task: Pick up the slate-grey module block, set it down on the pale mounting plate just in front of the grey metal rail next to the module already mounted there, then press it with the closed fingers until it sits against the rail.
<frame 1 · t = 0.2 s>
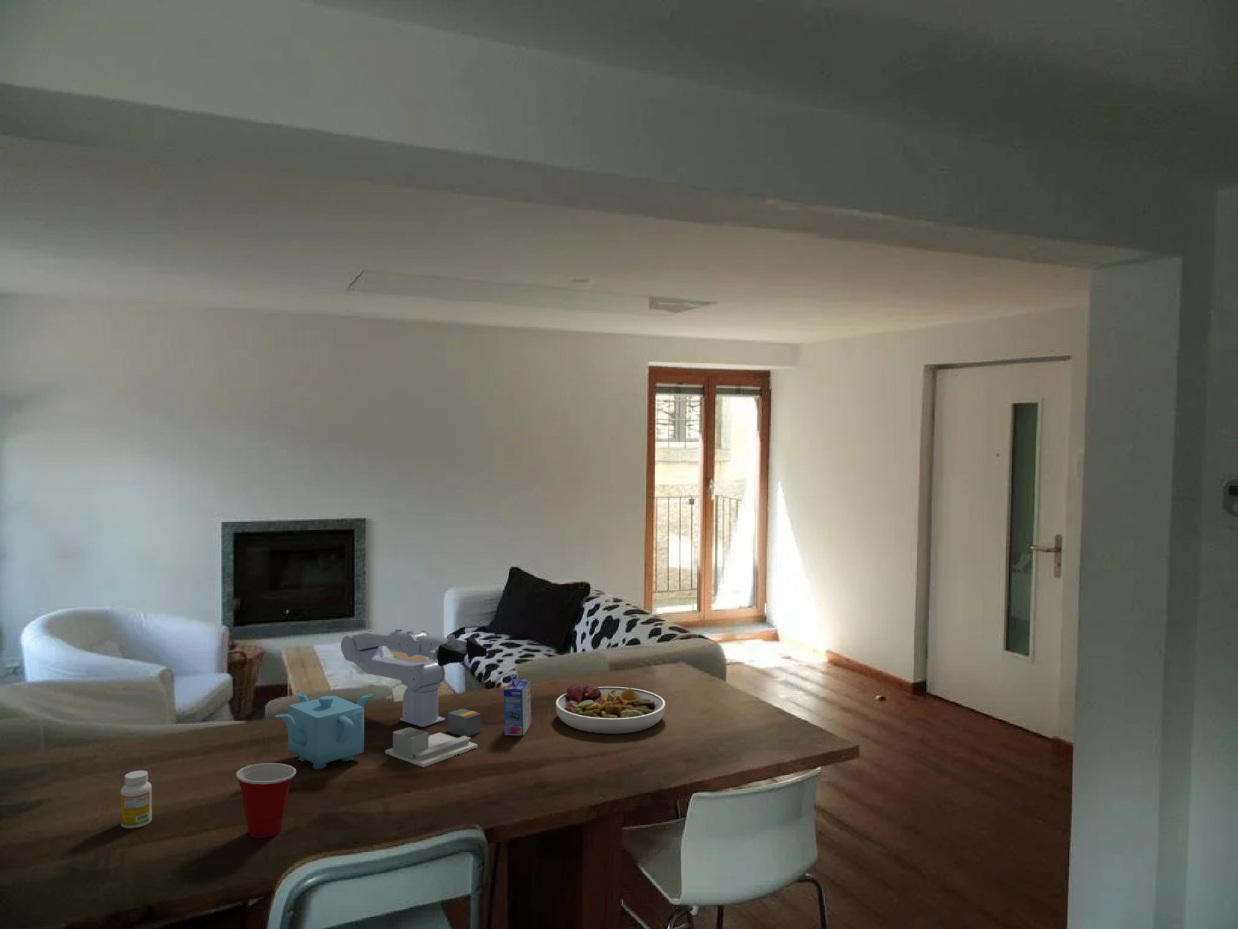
hand: (474, 655, 226), 21 cm above the table, tool horizontal, fingers open, 7 cm apart
teakettle: (323, 758, 210), on the table
module: (463, 732, 230), on the table
supplement bottle: (136, 824, 174), on the table
plastic cup: (266, 832, 171), on the table
bowl: (610, 720, 242), on the table
rail plate: (432, 750, 216), on the table
ink cartridge box: (517, 730, 232), on the table
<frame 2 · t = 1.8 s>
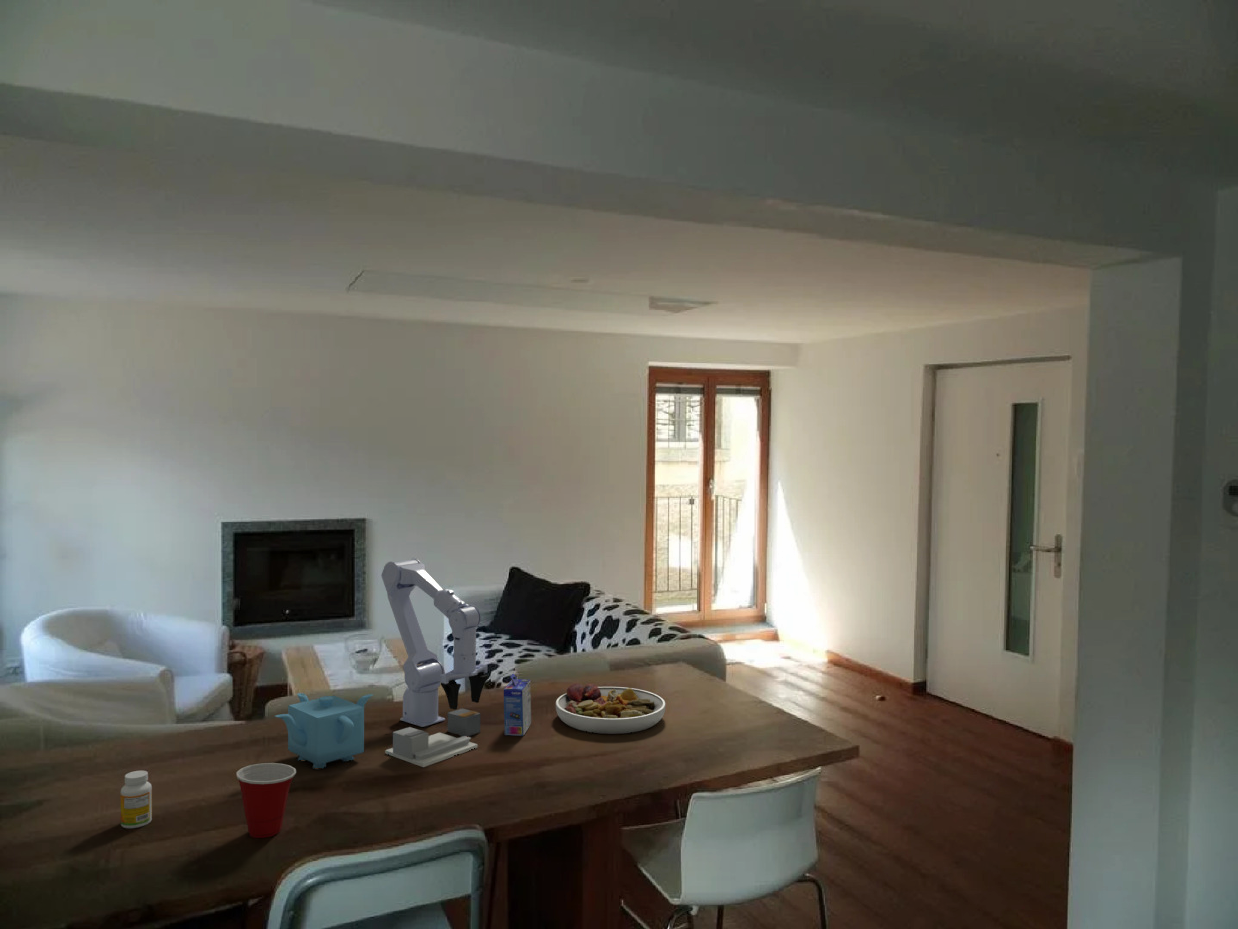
hand: (464, 705, 230), 7 cm above the table, tool pointing down, fingers open, 7 cm apart
nothing on the table moved.
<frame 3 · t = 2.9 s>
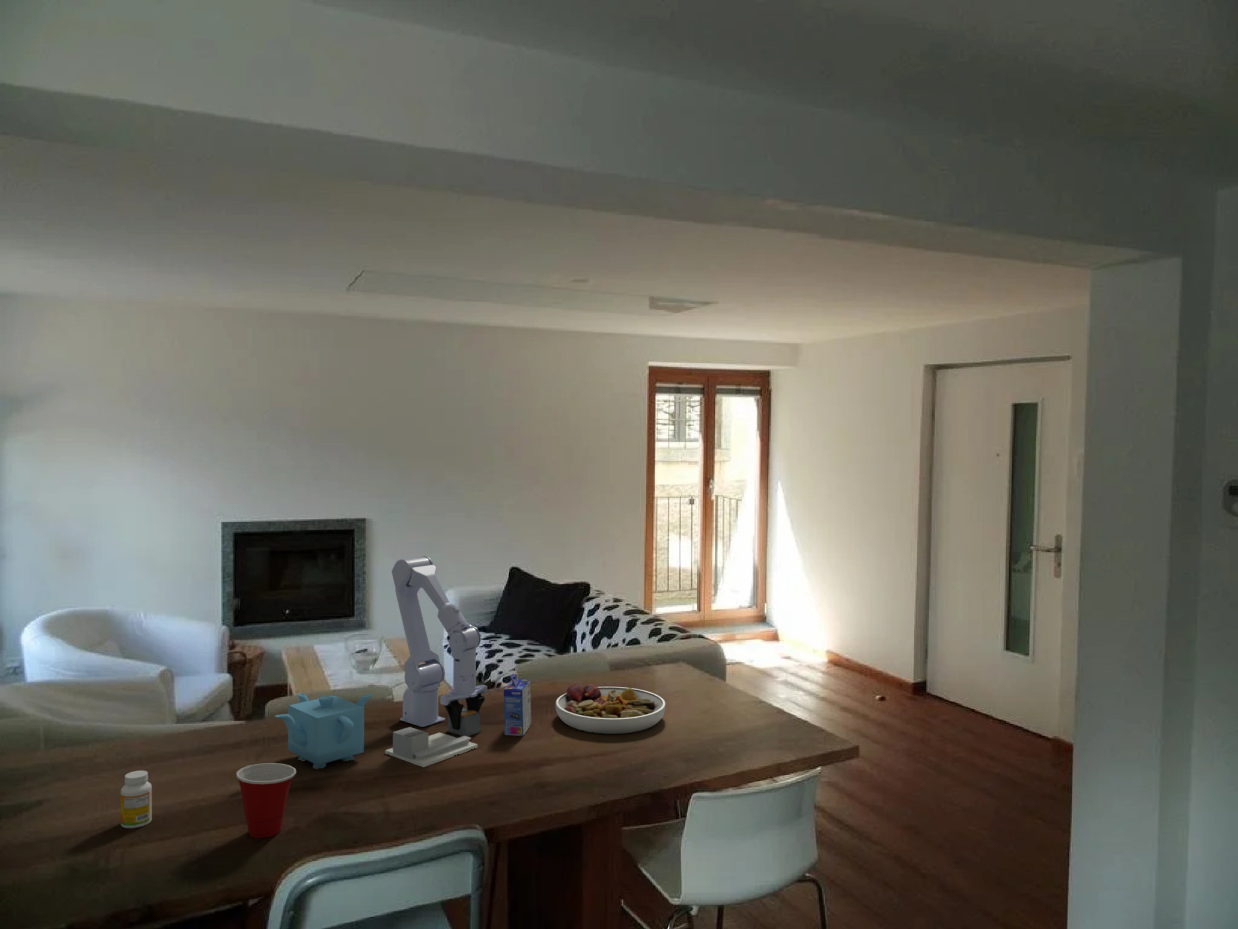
hand: (464, 726, 230), 1 cm above the table, tool pointing down, fingers closed on module, 5 cm apart
module: (463, 731, 230), on the table, touching gripper
everything else where it was.
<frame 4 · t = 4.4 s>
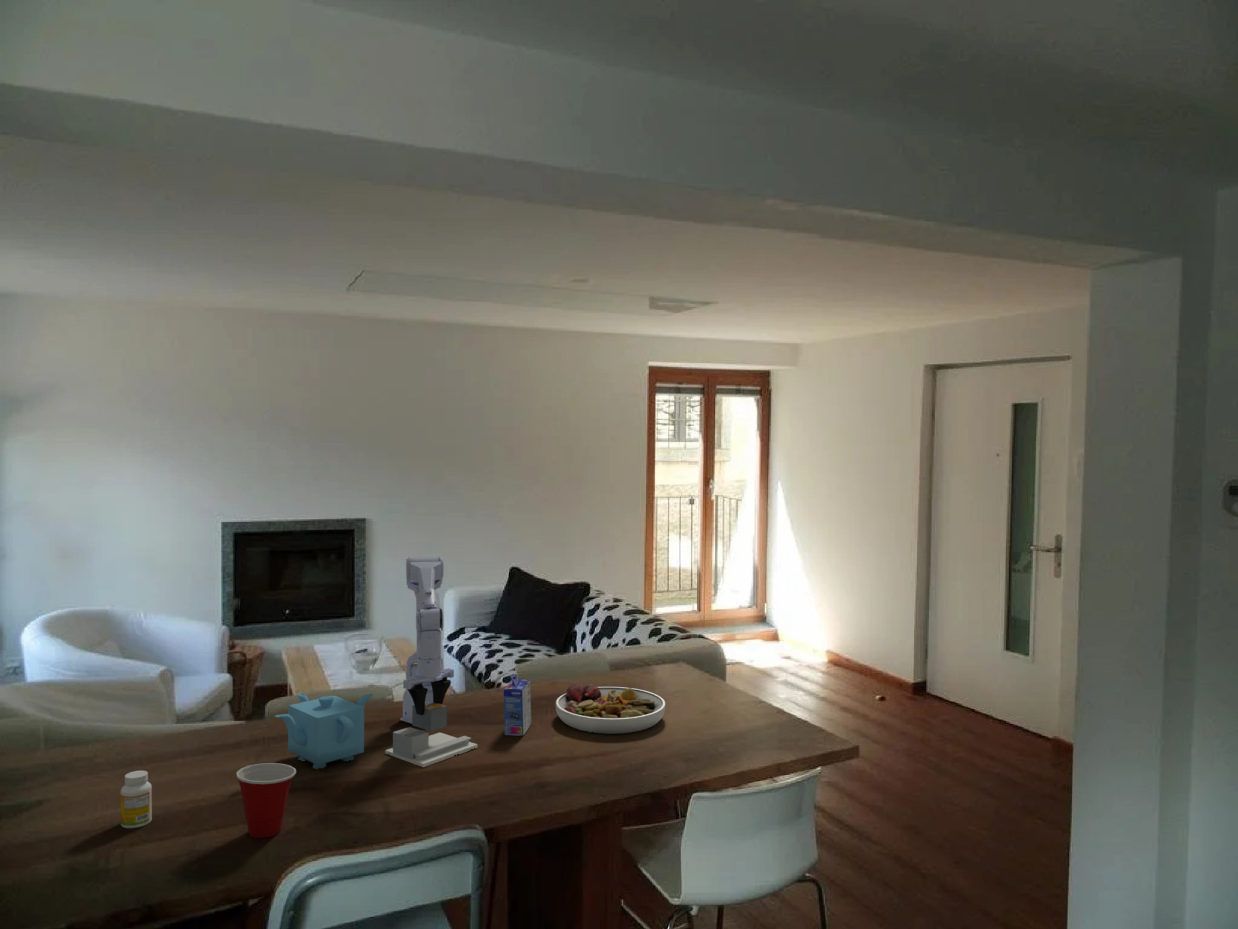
hand: (428, 711, 219), 8 cm above the table, tool pointing down, fingers closed on module, 5 cm apart
module: (429, 725, 219), point 5 cm above the table, touching gripper
everything else where it was.
when the fingers open (3 cm above the table, at t = 6.0 s): module stays where it is, resting on rail plate.
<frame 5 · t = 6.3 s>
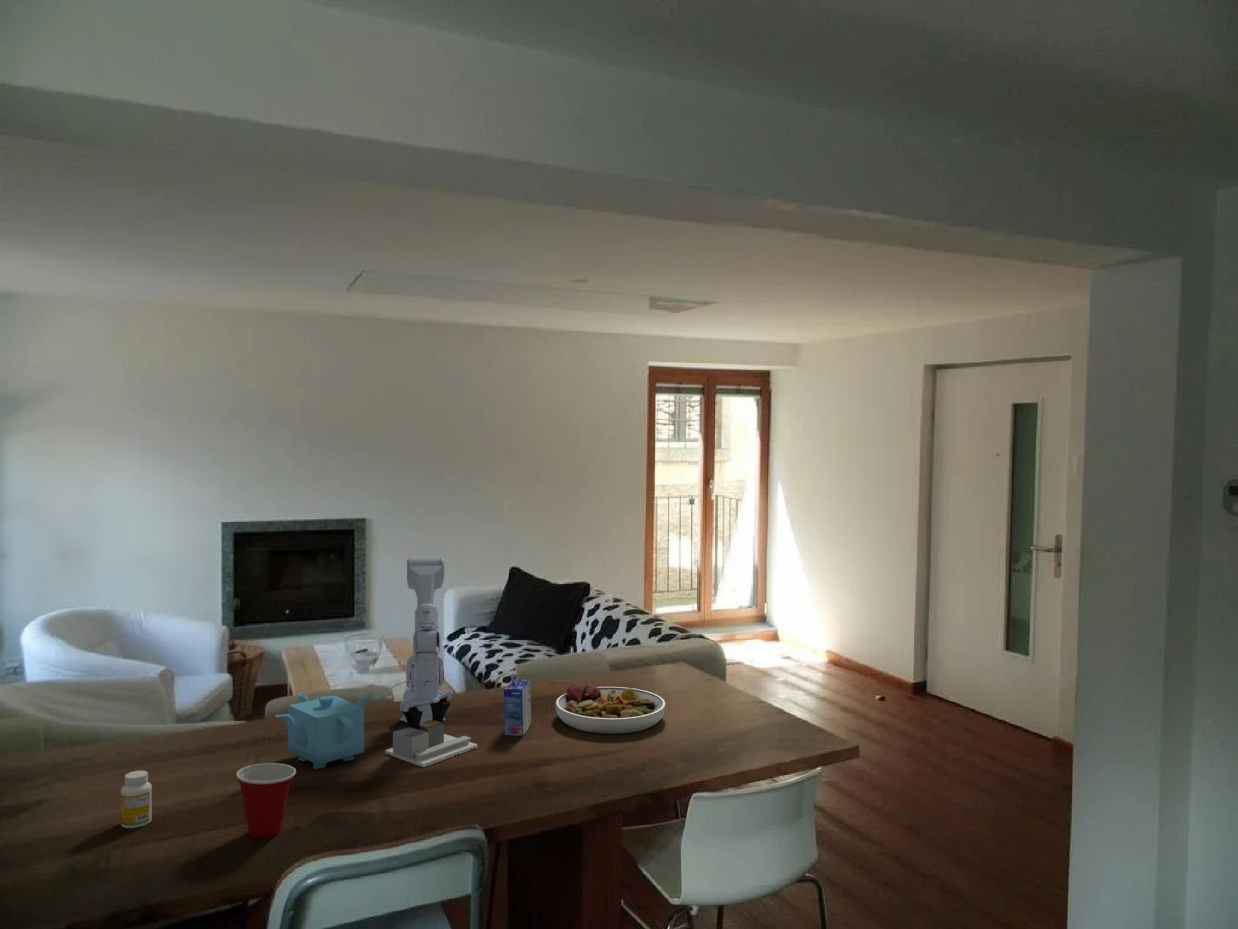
hand: (426, 733, 219), 3 cm above the table, tool pointing down, fingers open, 6 cm apart
module: (426, 743, 219), point 1 cm above the table, touching rail plate
everything else where it was.
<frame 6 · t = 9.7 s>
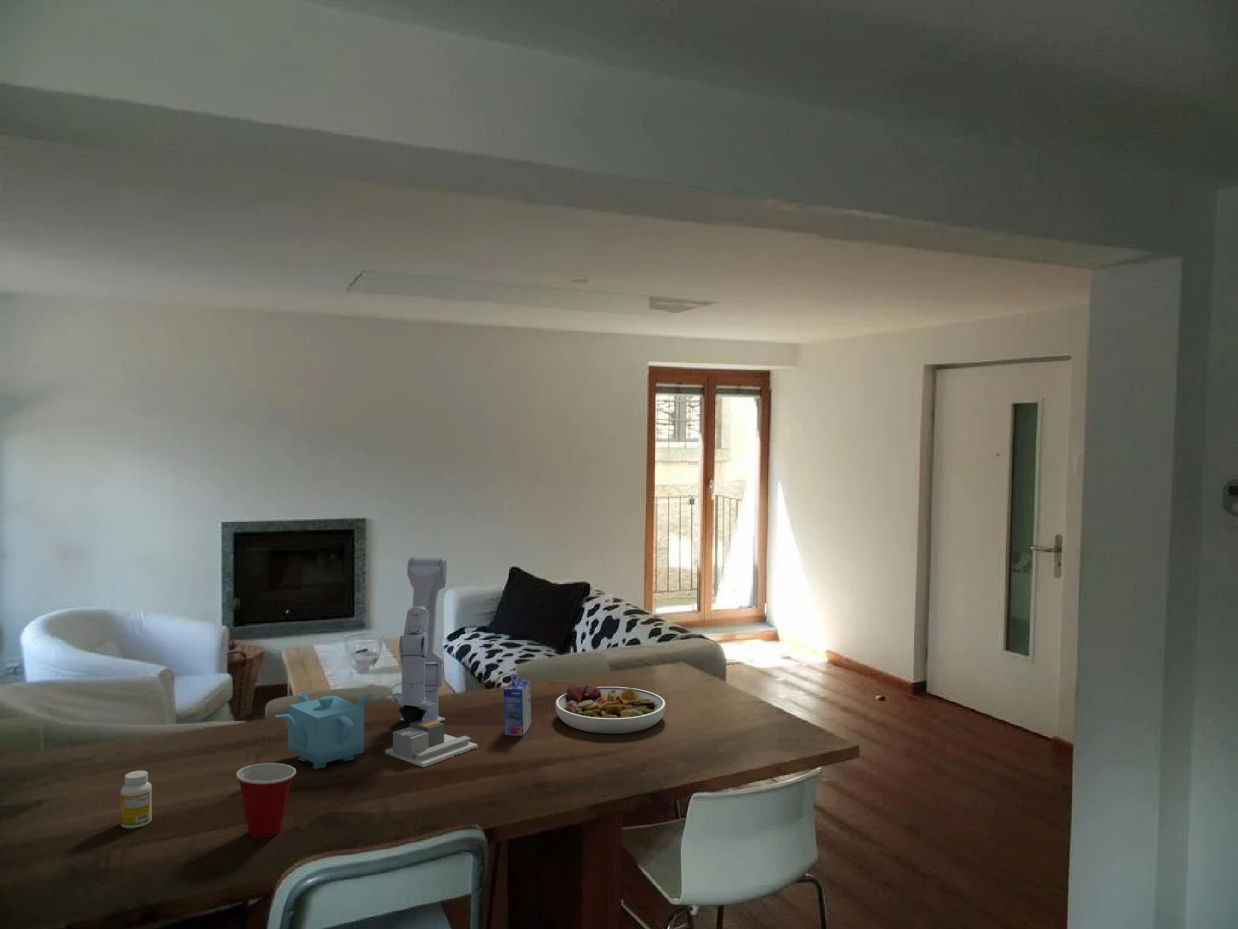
hand: (412, 735, 222), 2 cm above the table, tool pointing down, fingers closed
module: (426, 743, 219), point 1 cm above the table, touching gripper, rail plate
everything else where it was.
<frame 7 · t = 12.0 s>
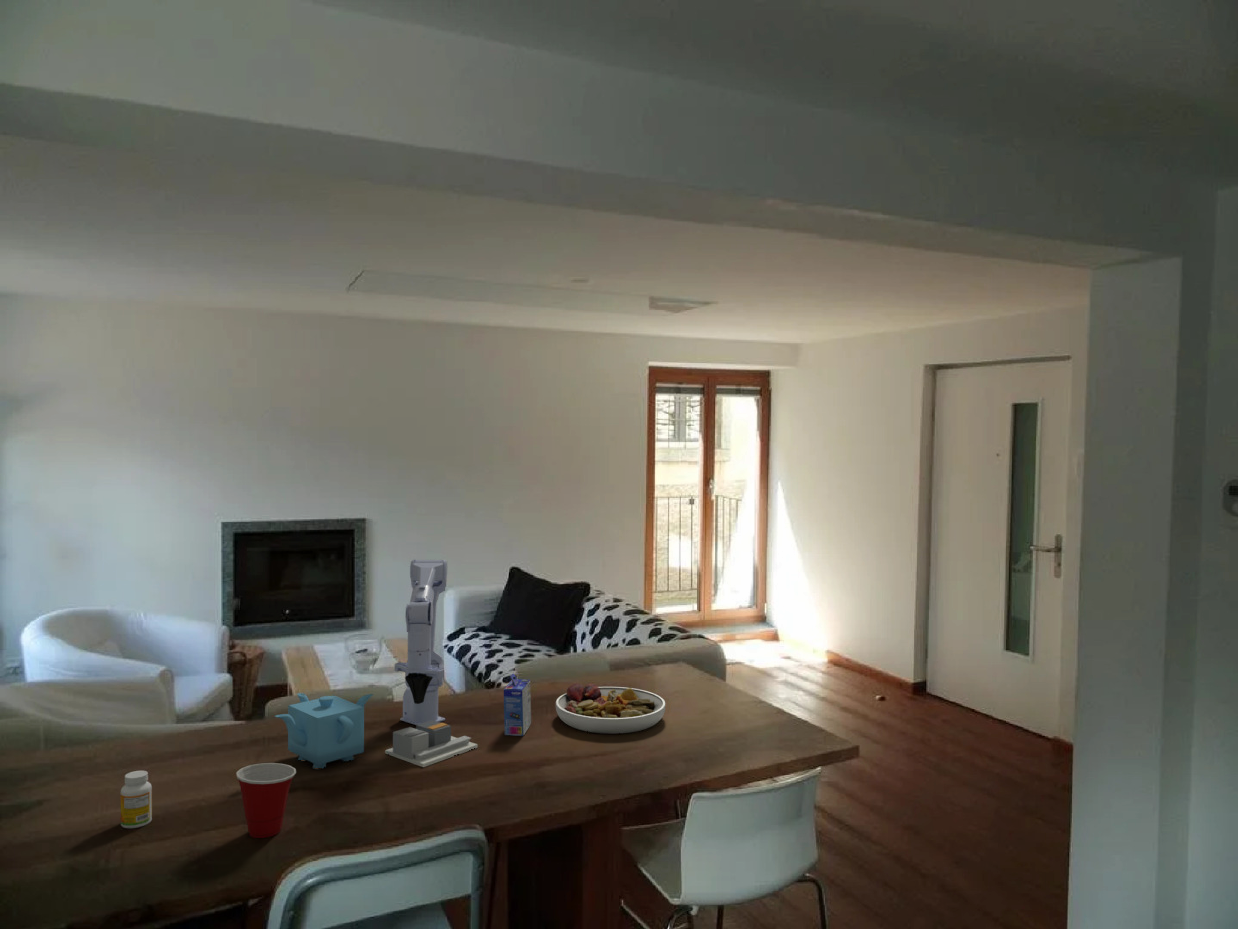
hand: (418, 702, 224), 9 cm above the table, tool pointing down, fingers closed
module: (433, 745, 217), point 1 cm above the table, touching rail plate
everything else where it was.
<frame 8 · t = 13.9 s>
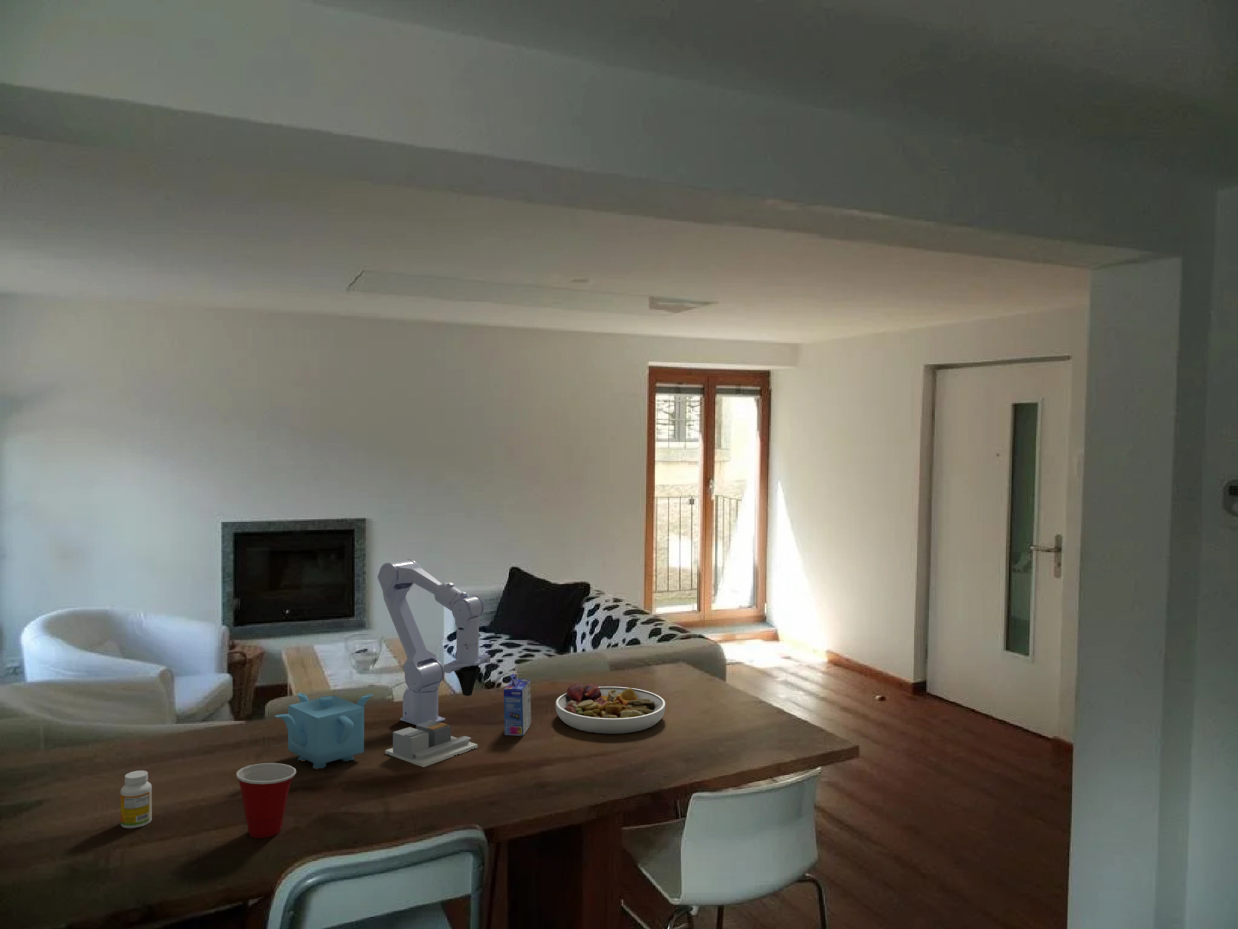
hand: (467, 695, 231), 9 cm above the table, tool pointing down, fingers closed
nothing on the table moved.
at the end: module 0.3 cm from the target spot on the rail plate, point 0.8 cm above the rail plate's base; module tilted 0°; the gripper is holding nothing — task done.
